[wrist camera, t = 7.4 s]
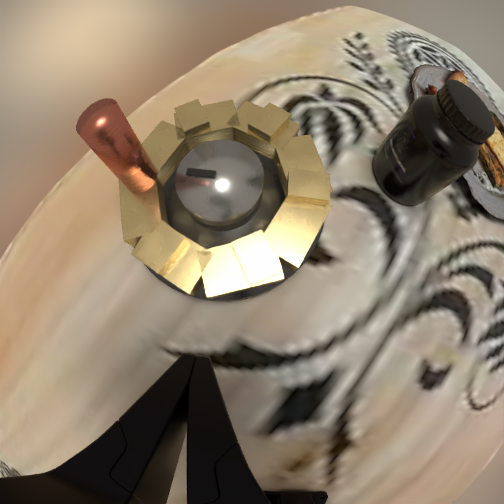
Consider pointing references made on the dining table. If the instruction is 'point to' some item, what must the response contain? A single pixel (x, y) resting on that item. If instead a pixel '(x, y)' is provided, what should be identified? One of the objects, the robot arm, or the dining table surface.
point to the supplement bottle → (433, 143)
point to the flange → (224, 201)
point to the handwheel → (168, 159)
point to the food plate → (490, 153)
